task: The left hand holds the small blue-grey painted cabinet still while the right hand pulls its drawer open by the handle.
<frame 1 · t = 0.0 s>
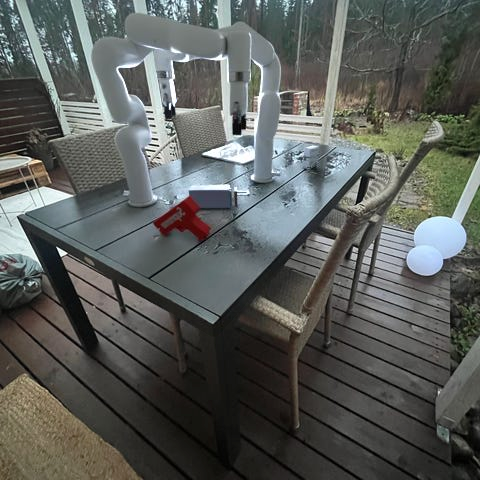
left hand: (239, 132, 99), 31 cm above the table, tool pointing down, fingers open, 9 cm apart
right hand: (170, 117, 129), 31 cm above the table, tool pointing down, fingers open, 9 cm apart
relief map: (234, 155, 186), on the table
cabinet: (210, 206, 118), on the table
toy gun: (183, 235, 98), on the table
drawer: (225, 197, 116), point 4 cm above the table, slide at 2.0 cm
ink box: (309, 167, 163), on the table
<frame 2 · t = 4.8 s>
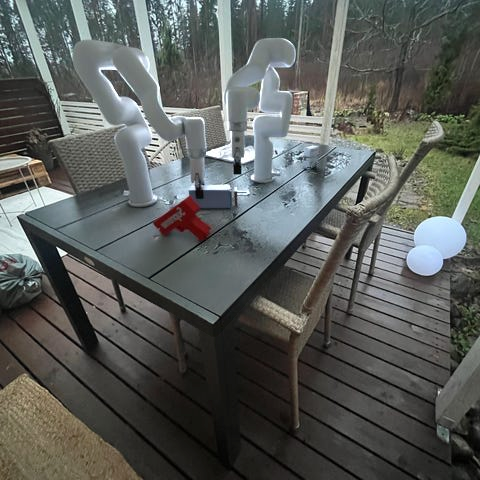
left hand: (200, 195, 115), 6 cm above the table, tool pointing down, fingers closed on cabinet, 5 cm apart
right hand: (237, 170, 112), 15 cm above the table, tool pointing down, fingers open, 9 cm apart
cabinet: (210, 206, 118), on the table, touching left hand
everything else where it was.
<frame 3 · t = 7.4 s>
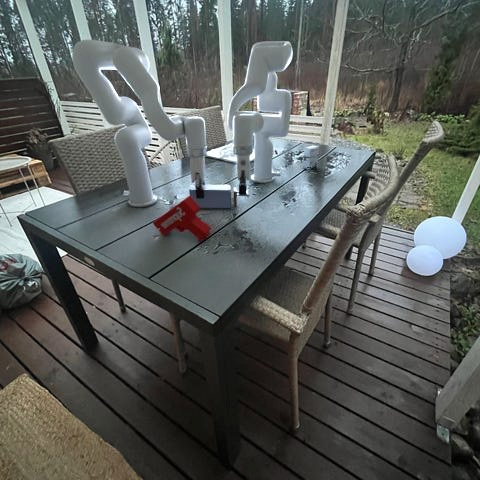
left hand: (201, 194, 115), 6 cm above the table, tool pointing down, fingers closed on cabinet, 5 cm apart
right hand: (242, 194, 114), 6 cm above the table, tool pointing down, fingers closed
cabinet: (211, 206, 118), on the table, touching left hand
drawer: (224, 197, 116), point 4 cm above the table, slide at 1.5 cm, touching right hand
everything else where it was.
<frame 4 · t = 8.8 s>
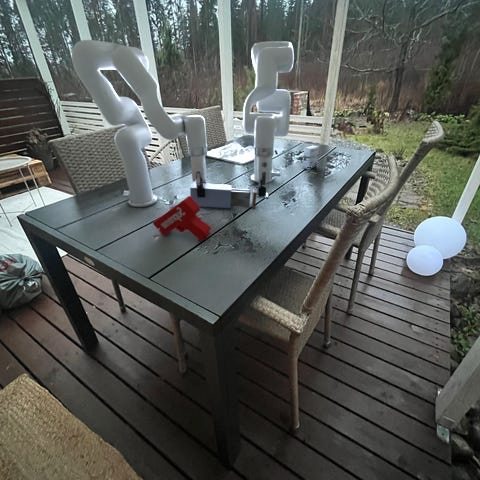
left hand: (202, 193, 115), 6 cm above the table, tool pointing down, fingers closed on cabinet, 5 cm apart
right hand: (261, 195, 115), 5 cm above the table, tool pointing down, fingers closed
cabinet: (211, 205, 118), point 1 cm above the table, touching left hand
drawer: (243, 198, 116), point 4 cm above the table, slide at 9.4 cm, touching right hand
everything else where it was.
when the left hand's fingers open (6 cm above the table, at t = 10.6 s): cabinet stays where it is, on the table.
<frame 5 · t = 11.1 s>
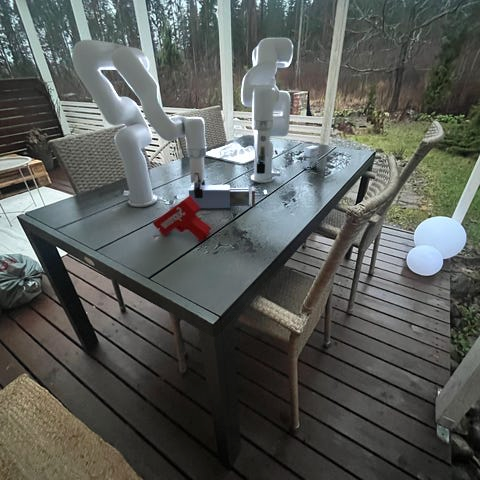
left hand: (200, 193, 115), 6 cm above the table, tool pointing down, fingers open, 9 cm apart
right hand: (260, 172, 110), 15 cm above the table, tool pointing down, fingers closed
cabinet: (210, 206, 118), on the table
drawer: (242, 197, 116), point 4 cm above the table, slide at 9.4 cm
everything else where it was.
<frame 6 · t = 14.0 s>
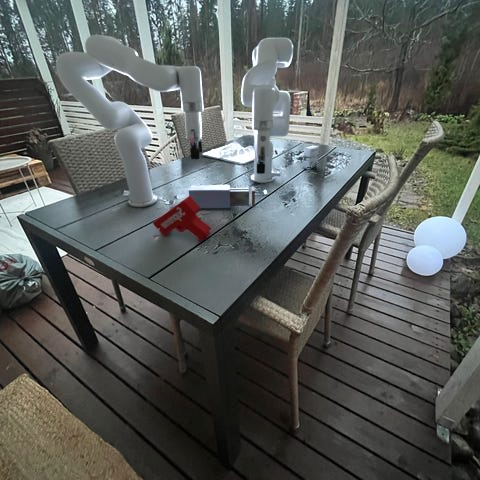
left hand: (197, 155, 106), 22 cm above the table, tool pointing down, fingers open, 9 cm apart
right hand: (260, 172, 110), 15 cm above the table, tool pointing down, fingers closed
nothing on the table moved.
at the end: drawer slide at 9.4 cm; cabinet tilted 0°; cabinet never tilted more than 5° during the clip; cabinet moved 0.2 cm from its start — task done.
